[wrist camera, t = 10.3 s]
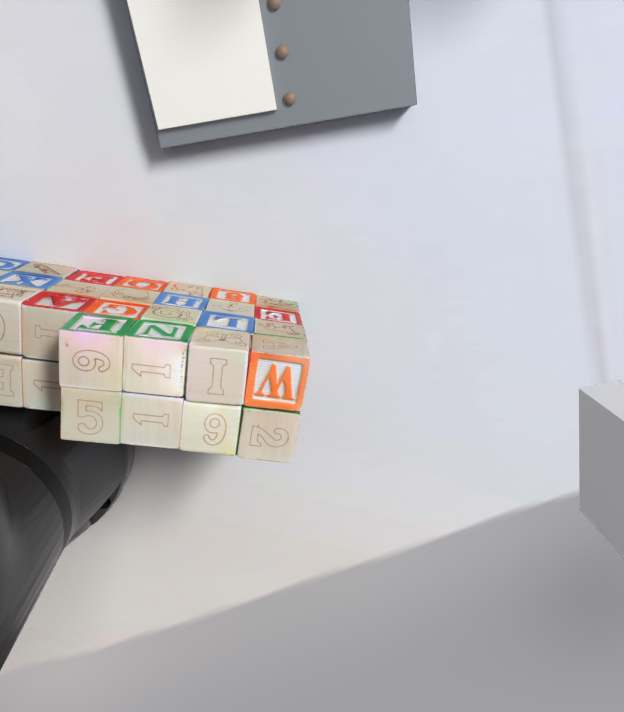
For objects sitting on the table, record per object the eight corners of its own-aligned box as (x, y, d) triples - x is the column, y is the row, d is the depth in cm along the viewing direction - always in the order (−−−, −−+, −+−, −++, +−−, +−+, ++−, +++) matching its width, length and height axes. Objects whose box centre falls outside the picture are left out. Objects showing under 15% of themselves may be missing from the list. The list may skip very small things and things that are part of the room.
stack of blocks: (-12, 340, 37) (-137, 421, 26) (-16, 252, 35) (-153, 297, 24) (286, 378, 40) (293, 466, 29) (300, 299, 38) (313, 359, 27)
